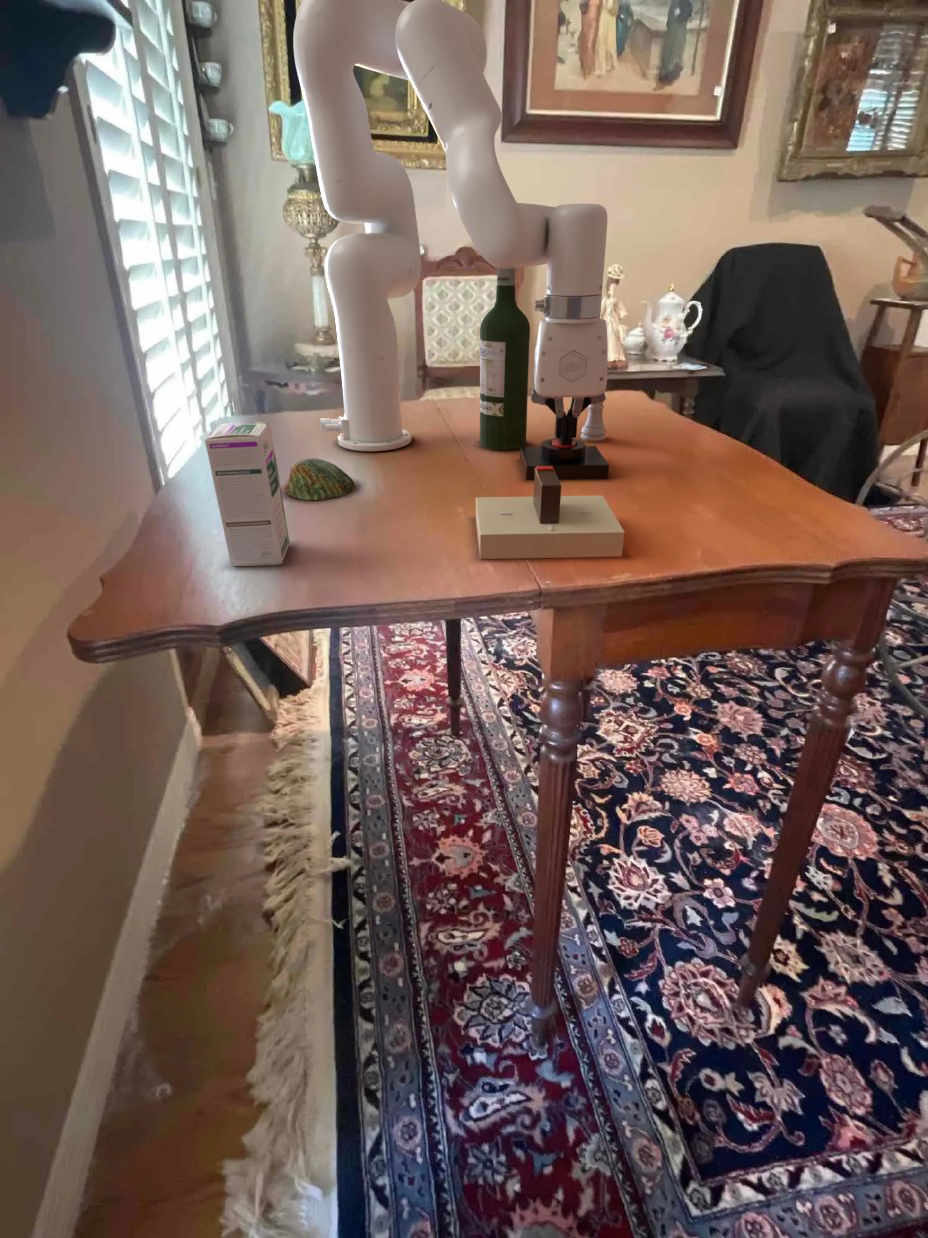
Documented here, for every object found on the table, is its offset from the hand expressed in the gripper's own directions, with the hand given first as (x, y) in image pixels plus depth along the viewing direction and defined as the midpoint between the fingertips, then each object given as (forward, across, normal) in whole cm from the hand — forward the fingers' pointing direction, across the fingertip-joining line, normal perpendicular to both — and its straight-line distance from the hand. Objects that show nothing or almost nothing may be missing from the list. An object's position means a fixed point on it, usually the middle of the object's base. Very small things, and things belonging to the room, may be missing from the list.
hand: (565, 442), depth 103 cm
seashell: (+4, -36, -7) cm, 37 cm away
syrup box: (+4, -39, -30) cm, 49 cm away
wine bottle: (+4, -8, +14) cm, 17 cm away
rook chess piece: (+4, +8, +17) cm, 19 cm away
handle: (+1, -6, -26) cm, 27 cm away
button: (+2, 0, 0) cm, 2 cm away
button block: (+4, 0, 0) cm, 4 cm away
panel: (+4, -6, -26) cm, 27 cm away
